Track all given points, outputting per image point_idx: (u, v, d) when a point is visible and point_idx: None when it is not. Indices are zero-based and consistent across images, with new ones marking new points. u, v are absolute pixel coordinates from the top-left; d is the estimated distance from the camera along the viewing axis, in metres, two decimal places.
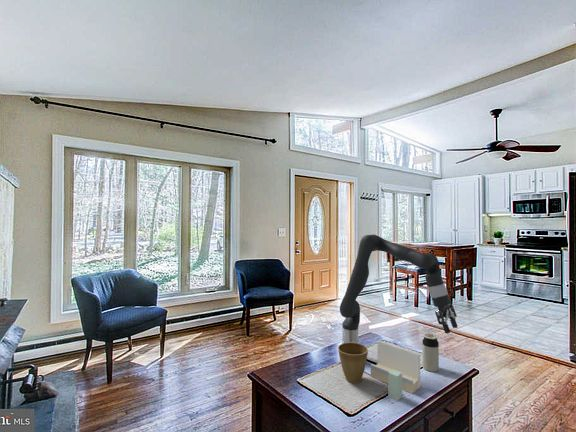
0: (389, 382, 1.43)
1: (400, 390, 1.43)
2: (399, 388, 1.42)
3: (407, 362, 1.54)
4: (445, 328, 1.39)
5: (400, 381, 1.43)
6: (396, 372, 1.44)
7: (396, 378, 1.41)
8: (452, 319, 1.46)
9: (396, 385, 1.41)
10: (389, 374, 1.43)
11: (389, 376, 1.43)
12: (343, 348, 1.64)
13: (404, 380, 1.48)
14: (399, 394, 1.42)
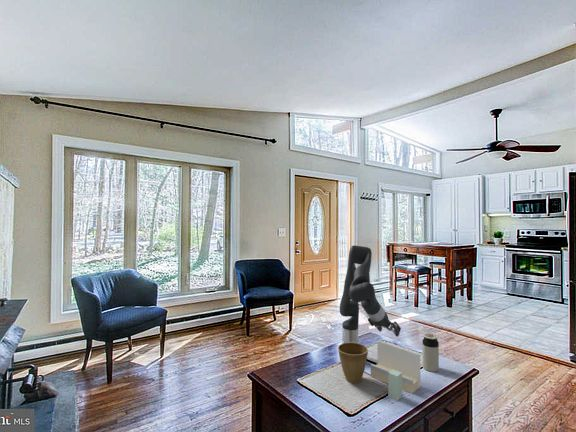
0: (389, 382, 1.43)
1: (400, 390, 1.43)
2: (399, 388, 1.42)
3: (407, 362, 1.54)
4: None
5: (400, 381, 1.43)
6: (396, 372, 1.44)
7: (396, 378, 1.41)
8: None
9: (396, 385, 1.41)
10: (389, 374, 1.43)
11: (389, 376, 1.43)
12: (343, 348, 1.64)
13: (404, 380, 1.48)
14: (399, 394, 1.42)
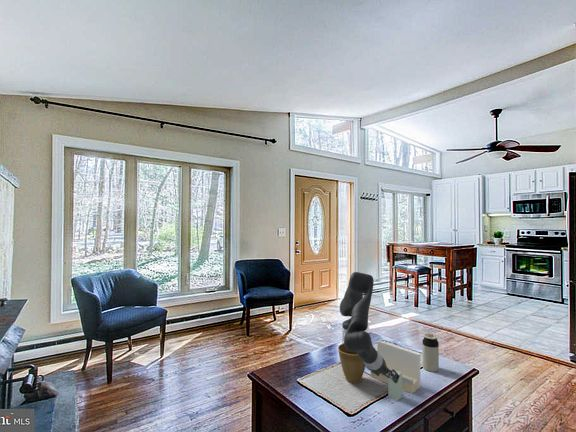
0: (389, 382, 1.43)
1: (400, 390, 1.43)
2: (399, 388, 1.42)
3: (407, 362, 1.54)
4: None
5: (400, 381, 1.42)
6: None
7: None
8: None
9: (396, 385, 1.41)
10: None
11: None
12: (343, 348, 1.64)
13: (404, 380, 1.48)
14: (399, 394, 1.42)
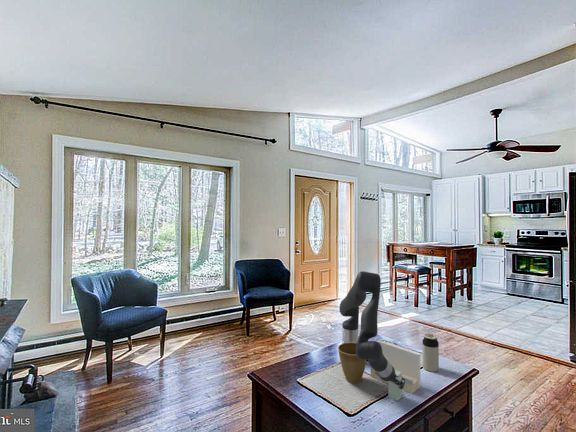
0: (389, 382, 1.43)
1: (400, 390, 1.43)
2: (399, 388, 1.42)
3: (407, 362, 1.54)
4: None
5: None
6: (396, 372, 1.44)
7: None
8: None
9: (396, 385, 1.41)
10: None
11: None
12: (343, 348, 1.64)
13: None
14: (399, 394, 1.42)
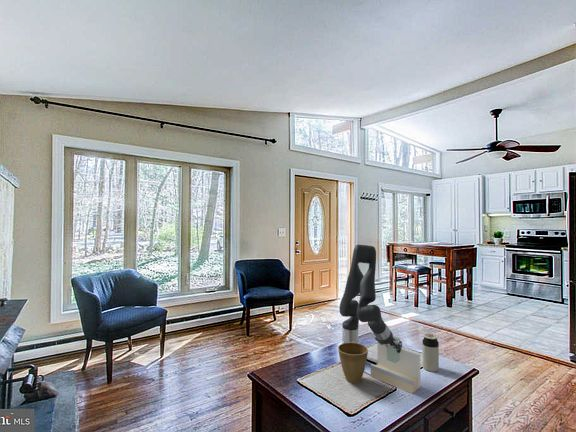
0: (387, 347, 1.55)
1: (398, 354, 1.54)
2: (396, 352, 1.53)
3: (407, 362, 1.54)
4: None
5: None
6: (394, 338, 1.55)
7: None
8: None
9: (394, 349, 1.53)
10: None
11: None
12: (343, 348, 1.64)
13: (404, 380, 1.48)
14: (397, 358, 1.54)
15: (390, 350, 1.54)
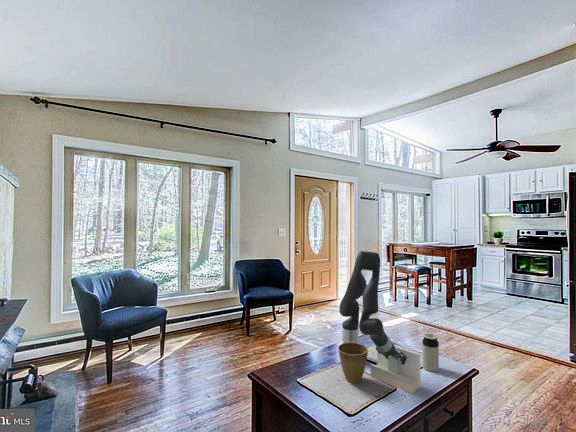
0: (389, 360, 1.56)
1: (399, 367, 1.56)
2: (397, 365, 1.54)
3: (407, 362, 1.54)
4: None
5: None
6: None
7: (395, 356, 1.54)
8: None
9: (395, 362, 1.54)
10: None
11: None
12: (343, 348, 1.64)
13: (404, 380, 1.48)
14: (398, 371, 1.55)
15: (391, 363, 1.55)
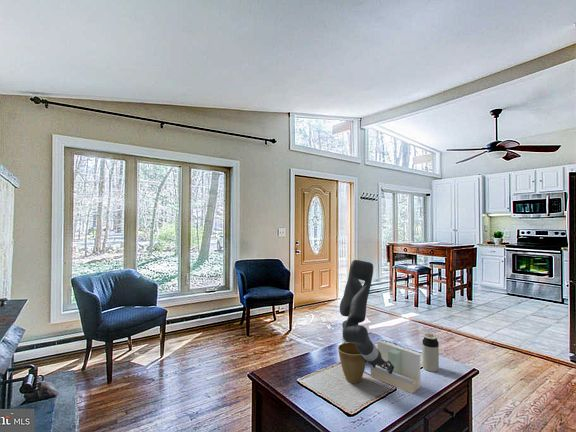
0: (389, 360, 1.56)
1: (399, 367, 1.56)
2: (397, 365, 1.54)
3: (407, 362, 1.54)
4: None
5: (399, 359, 1.55)
6: (395, 351, 1.57)
7: (395, 356, 1.54)
8: None
9: (395, 362, 1.54)
10: (389, 352, 1.56)
11: (389, 354, 1.56)
12: (343, 348, 1.64)
13: (404, 380, 1.48)
14: (398, 371, 1.55)
15: (391, 363, 1.55)
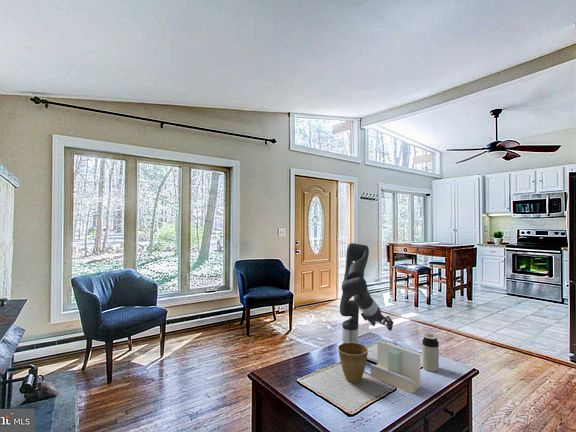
0: (389, 360, 1.56)
1: (399, 367, 1.56)
2: (397, 365, 1.54)
3: (407, 362, 1.54)
4: None
5: (399, 359, 1.55)
6: (395, 351, 1.57)
7: (395, 356, 1.54)
8: None
9: (395, 362, 1.54)
10: (389, 352, 1.56)
11: (389, 354, 1.56)
12: (343, 348, 1.64)
13: (404, 380, 1.48)
14: (398, 371, 1.55)
15: (391, 363, 1.55)
